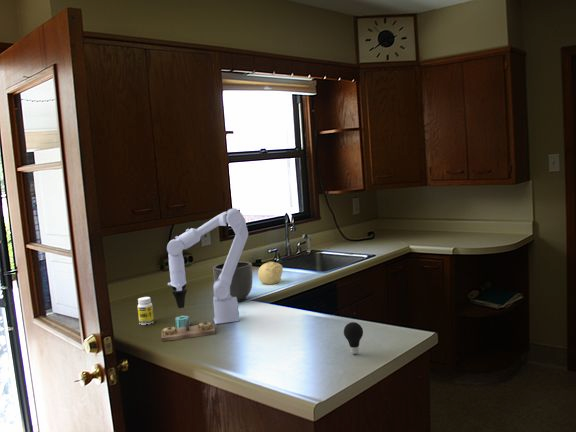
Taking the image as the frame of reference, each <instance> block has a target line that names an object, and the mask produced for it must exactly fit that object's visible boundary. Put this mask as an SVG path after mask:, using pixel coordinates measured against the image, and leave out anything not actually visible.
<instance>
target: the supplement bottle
mask: <svg viewBox="0 0 576 432" xmlns="http://www.w3.org/2000/svg"><path fill="white" fill-rule="evenodd" d="M137 303H138V304H137V313H138V314H137V315H138V324H139V325H140V324H141V326H146V324H148V325H152V324H154V322H155V319H154V318H155V316H154V309H153V308H154V307H153V303H152V299H151V297H150V296H143V297H139V298H137ZM151 323H152V324H151Z"/></svg>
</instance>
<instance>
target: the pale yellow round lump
mask: <svg viewBox="0 0 576 432" xmlns="http://www.w3.org/2000/svg"><path fill="white" fill-rule="evenodd" d="M283 269H284V267H283V265H282V264H280V263H279V262H275V261H267V262H266V263H263V264H262V265H261V266H260V267H259V268H258V272H257V278H258V280H259V281H260V283H262V284H265V285H274V284H278V283H279V282H280V281H281V279H282V275H283Z"/></svg>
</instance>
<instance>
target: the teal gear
mask: <svg viewBox="0 0 576 432" xmlns="http://www.w3.org/2000/svg"><path fill="white" fill-rule="evenodd" d="M186 320H188V321H189V326H191V322H190V320H191V319H190V316H189V315H180V316H176V317H175V320H174V321H175V328H180V327H186V324H185V321H186Z"/></svg>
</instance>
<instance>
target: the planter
mask: <svg viewBox="0 0 576 432" xmlns="http://www.w3.org/2000/svg"><path fill="white" fill-rule="evenodd" d="M224 264H225V262H223V263H218V264H216V265H214V266H212V272H213V274H212V275H213V281H214V282H213V283H215V281H217V280H218V278H219V276H220V274H221V272H222V269H223V267H224ZM252 289H253V264H252V262H249V261H243V260H242V261H238V264H237V267H236V269H235V272H234V275H233V277H232V282H231V285H230V295H231V296H232V297H237V302H238V303H242V302H244V301H245V300H246V299H247V297H248V296H249V295H250V294H251V291H252Z"/></svg>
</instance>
